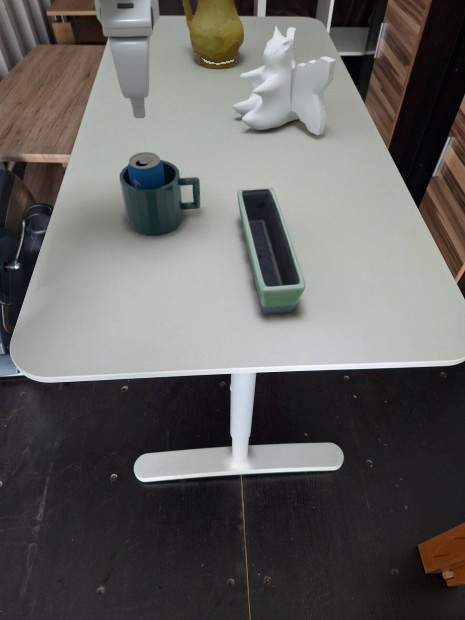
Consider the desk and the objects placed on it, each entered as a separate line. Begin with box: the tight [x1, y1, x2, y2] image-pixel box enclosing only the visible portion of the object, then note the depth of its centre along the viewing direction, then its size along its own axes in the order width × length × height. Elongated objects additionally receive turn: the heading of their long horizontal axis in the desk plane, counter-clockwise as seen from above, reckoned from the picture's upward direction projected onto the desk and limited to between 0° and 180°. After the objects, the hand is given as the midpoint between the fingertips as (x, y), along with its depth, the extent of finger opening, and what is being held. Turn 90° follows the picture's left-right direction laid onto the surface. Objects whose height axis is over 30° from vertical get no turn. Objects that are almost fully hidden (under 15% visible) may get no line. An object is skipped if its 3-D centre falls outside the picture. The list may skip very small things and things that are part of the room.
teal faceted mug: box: [119, 159, 201, 237], centre depth 87 cm, size 15×11×10 cm
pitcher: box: [181, 0, 245, 69], centre depth 139 cm, size 17×19×25 cm
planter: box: [236, 187, 306, 315], centre depth 79 cm, size 28×7×7 cm, turn 7°
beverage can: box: [127, 151, 165, 189], centre depth 85 cm, size 6×6×12 cm
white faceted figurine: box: [232, 25, 337, 136], centre depth 112 cm, size 25×21×21 cm
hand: (139, 103), depth 73 cm, fingers open, 8 cm apart
